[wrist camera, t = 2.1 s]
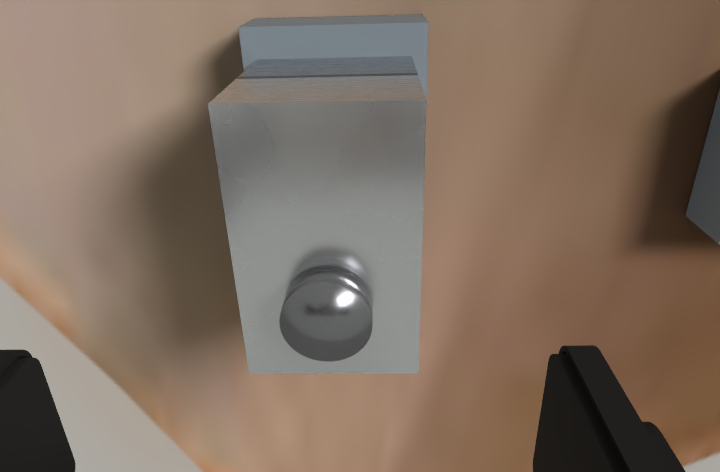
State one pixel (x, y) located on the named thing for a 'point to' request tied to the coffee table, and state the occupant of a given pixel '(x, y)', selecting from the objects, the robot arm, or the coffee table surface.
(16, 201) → the coffee table surface
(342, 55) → the stand
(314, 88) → the block
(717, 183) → the stand
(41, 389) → the robot arm
